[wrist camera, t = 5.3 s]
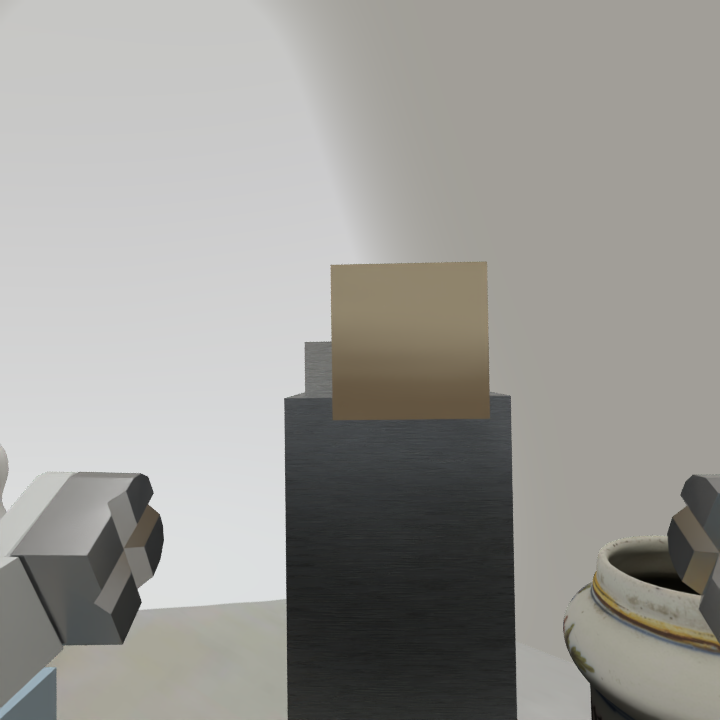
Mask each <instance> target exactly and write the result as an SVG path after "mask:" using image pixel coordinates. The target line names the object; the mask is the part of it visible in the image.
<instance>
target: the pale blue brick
mask: <svg viewBox="0 0 720 720" xmlns="http://www.w3.org/2000/svg"><path fill="white" fill-rule="evenodd" d="M0 720H56V667H44V668H43V669H42V670H41V671H40V672H39V673H37V674H36V675H35V676H34V677H33V678H32V679H31V680H30V681H29V682H28V683H27V684H26V685H25V686H24V687H23V688H22V689H21V690H19V691H18V692H17V693H16V694H15V695H14V696H13V697H12V698H11V699H10V700H9V701H8V702H7V703H6V704H5V705H4V706H3V707H1V708H0Z"/></svg>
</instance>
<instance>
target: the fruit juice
mask: <svg viewBox="0 0 720 720" xmlns="http://www.w3.org/2000/svg"><path fill="white" fill-rule="evenodd" d="M7 476H8V459H7V455H6V453H5V450H4V449H3V448H2V446H1V445H0V519H1V518H2V517H3V516H4V515H5V514H6V510H5V508H4V506H3V504H2V493H3V489H4V486H5V483H6V480H7Z"/></svg>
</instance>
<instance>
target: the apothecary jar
mask: <svg viewBox="0 0 720 720" xmlns="http://www.w3.org/2000/svg"><path fill="white" fill-rule="evenodd" d="M700 599H701V595H700V594H699V593H698V592H696V591H695V590H693V589H692V588H691V587H689V586H688V585H686V584H685V583H684V582H682V580H681V579H680V577H679V575H678V573H677V572H676V570H675V568H674V566H673V563H672V560H671V557H670V554H669V550H668V537H667V536H637V537H629V538H623V539H620V540H616V541H613V542H610V543H608V544H606V545H605V546H603V547H602V549H601V550H600V552H599V554H598V559H597V571H596V572H595V574H594V577H593V581H592V582H591V583H589V584H587V585H586V586H585V587H583V588H582V589H581V590H579V592H578V593H577V594H576V595H575V596H574V598H572V600H571V602H570V603H569V605H568V607H567V610H566V613H565V616H564V622H563V631H564V638H565V643H566V646H567V649H568V651H569V653H570V656H571V657H572V659H573V661H574V663H575V664H576V666H577V668H578V669H579V670H580V672H581V673H582V674H583V676H584V677H585V678H586V679H587V680H588V682H589V683H590V688H591V716H592V720H720V644H719V642H718V641H717V639H716V637H715V636H714V634H713V632H712V631H711V629H710V627H709V626H708V624H707V622H706V621H705V619H704V617H703V616H702V614H701V612H700V611H699V604H700Z"/></svg>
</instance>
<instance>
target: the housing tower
mask: <svg viewBox="0 0 720 720" xmlns="http://www.w3.org/2000/svg"><path fill="white" fill-rule="evenodd" d="M489 396H490V419H405V420H333V410H332V342H305V393H301V394H298V395H294V396H291V397H287V398H285V399H284V404H285V497H286V498H285V501H286V588H287V589H286V593H287V594H286V595H287V693H288V720H517V697H516V645H515V595H514V547H513V546H514V544H513V492H512V442H511V396H510V395H504V394H499V393H494V392H489Z"/></svg>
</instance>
